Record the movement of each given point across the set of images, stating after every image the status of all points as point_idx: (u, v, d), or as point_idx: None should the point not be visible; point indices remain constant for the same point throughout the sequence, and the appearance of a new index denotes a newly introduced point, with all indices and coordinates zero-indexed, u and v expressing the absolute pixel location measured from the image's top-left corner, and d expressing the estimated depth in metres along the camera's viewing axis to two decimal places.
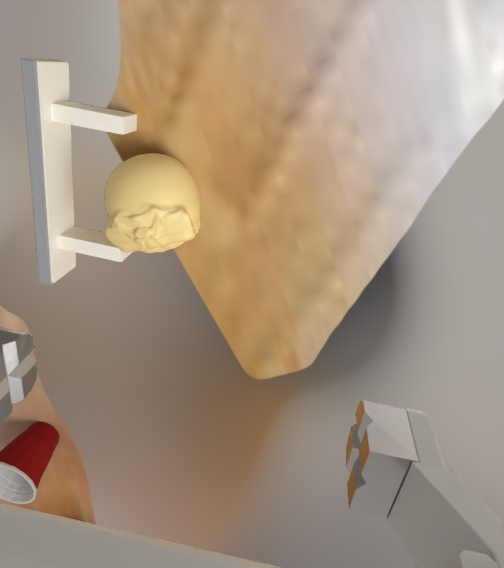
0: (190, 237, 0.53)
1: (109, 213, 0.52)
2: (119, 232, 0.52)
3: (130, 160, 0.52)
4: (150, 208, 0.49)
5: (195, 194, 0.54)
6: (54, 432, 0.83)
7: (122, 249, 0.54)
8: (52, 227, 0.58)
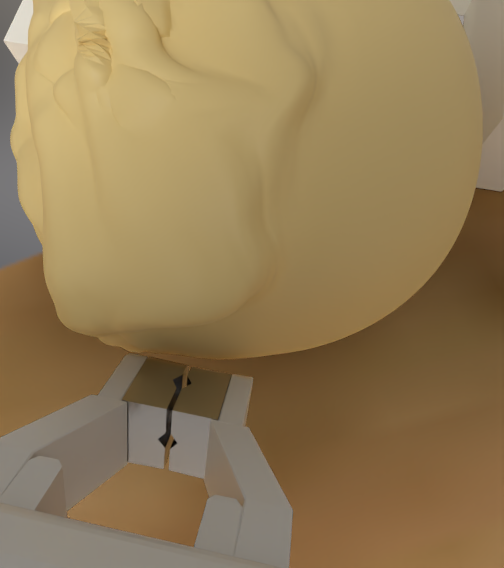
0: (63, 307, 0.08)
1: None
2: None
3: None
4: (303, 59, 0.07)
5: (287, 350, 0.11)
6: None
7: None
8: None
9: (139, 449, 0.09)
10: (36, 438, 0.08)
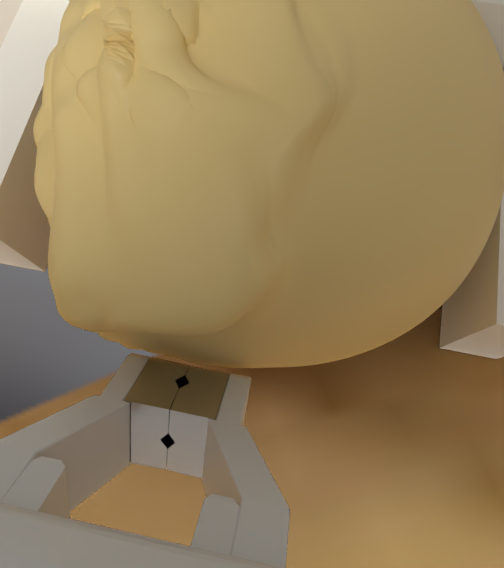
0: (62, 301, 0.08)
1: None
2: None
3: None
4: (325, 81, 0.07)
5: (283, 365, 0.11)
6: None
7: None
8: None
9: (141, 449, 0.09)
10: (39, 439, 0.08)
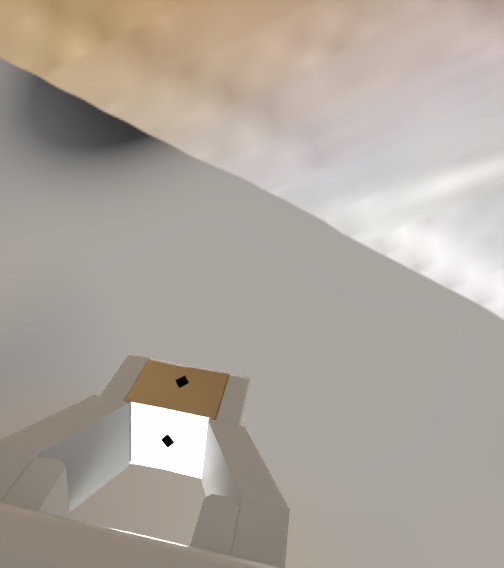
0: None
1: None
2: None
3: None
4: None
5: None
6: None
7: None
8: None
9: (142, 450, 0.09)
10: (39, 439, 0.08)
